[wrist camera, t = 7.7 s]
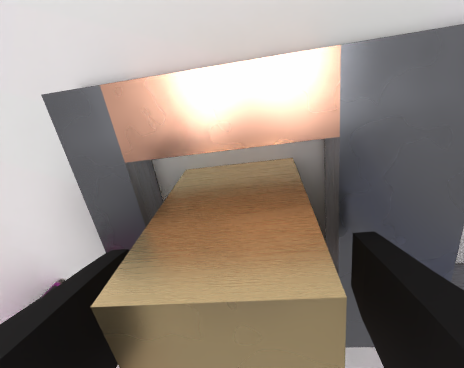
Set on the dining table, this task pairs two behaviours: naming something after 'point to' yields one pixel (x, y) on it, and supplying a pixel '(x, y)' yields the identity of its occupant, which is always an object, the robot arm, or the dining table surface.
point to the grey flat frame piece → (293, 130)
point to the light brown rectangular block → (228, 278)
